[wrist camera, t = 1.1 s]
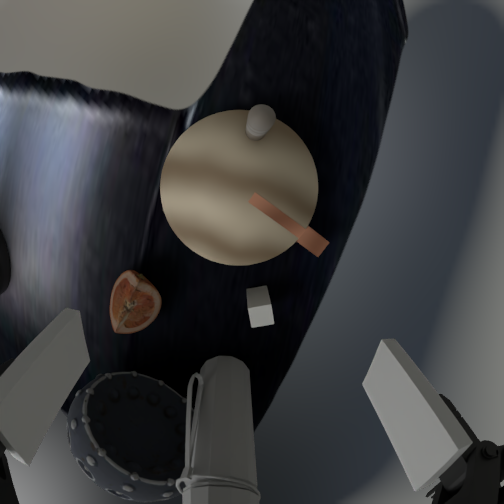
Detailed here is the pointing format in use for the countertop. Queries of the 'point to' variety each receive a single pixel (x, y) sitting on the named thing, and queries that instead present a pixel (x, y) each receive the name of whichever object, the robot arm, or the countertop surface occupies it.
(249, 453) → the water bottle
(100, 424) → the grey dotted bowl
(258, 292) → the grey rectangular block
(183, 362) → the countertop surface
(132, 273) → the fruit slice
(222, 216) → the beige round piece
